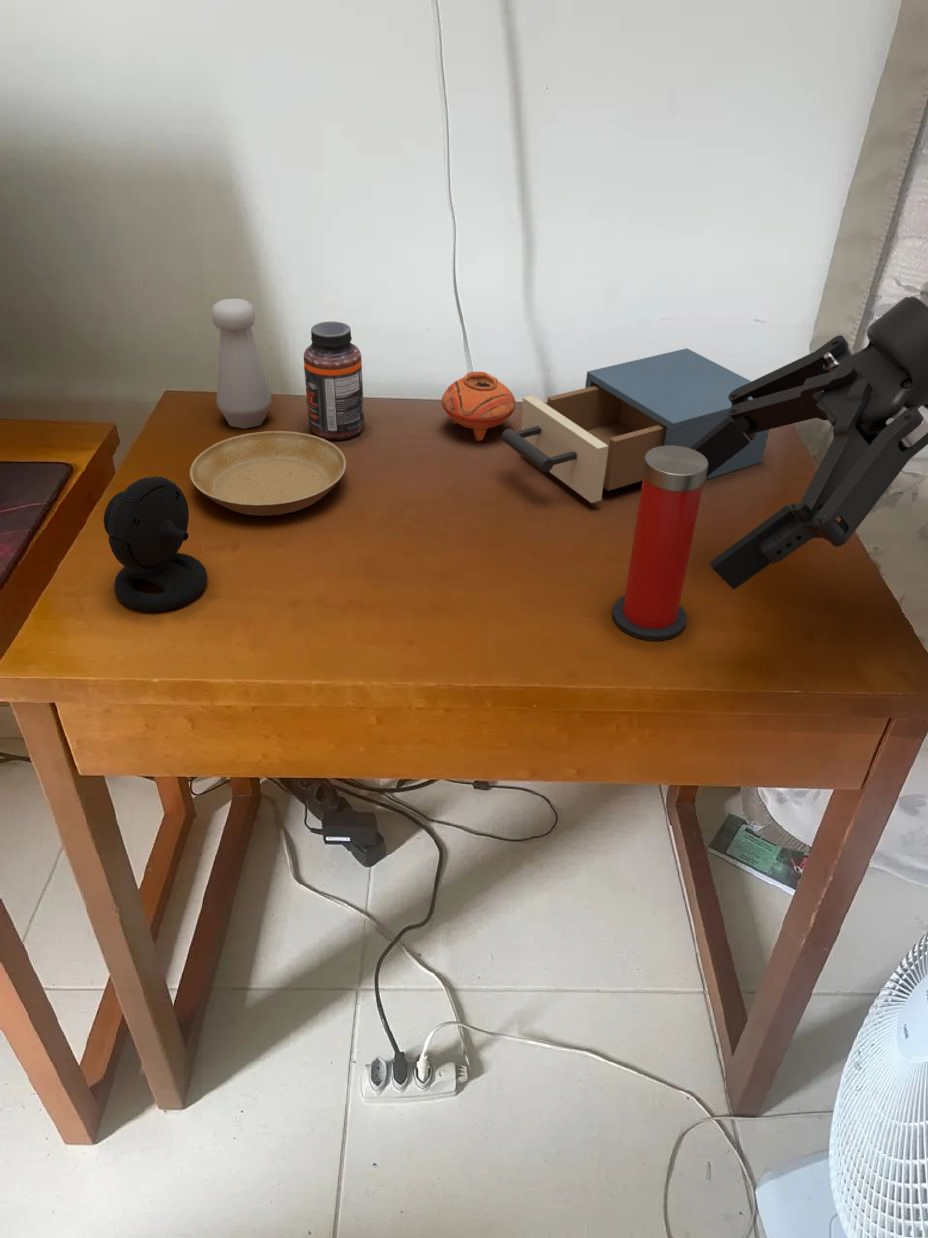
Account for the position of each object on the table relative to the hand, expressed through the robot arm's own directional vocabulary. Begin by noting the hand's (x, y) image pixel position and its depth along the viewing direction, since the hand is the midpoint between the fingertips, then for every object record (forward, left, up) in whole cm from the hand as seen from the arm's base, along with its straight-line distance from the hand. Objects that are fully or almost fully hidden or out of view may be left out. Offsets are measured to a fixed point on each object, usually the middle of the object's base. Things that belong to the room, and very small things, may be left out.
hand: (695, 526), depth 75 cm
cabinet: (+7, -30, -9) cm, 32 cm away
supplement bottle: (+41, -20, -9) cm, 46 cm away
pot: (+27, -26, -9) cm, 38 cm away
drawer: (+13, -21, -8) cm, 26 cm away
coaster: (+2, +1, -9) cm, 9 cm away
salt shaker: (+51, -18, -9) cm, 55 cm away
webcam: (+41, +12, -9) cm, 44 cm away
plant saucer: (+41, -6, -9) cm, 42 cm away
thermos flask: (+2, +1, -8) cm, 9 cm away
